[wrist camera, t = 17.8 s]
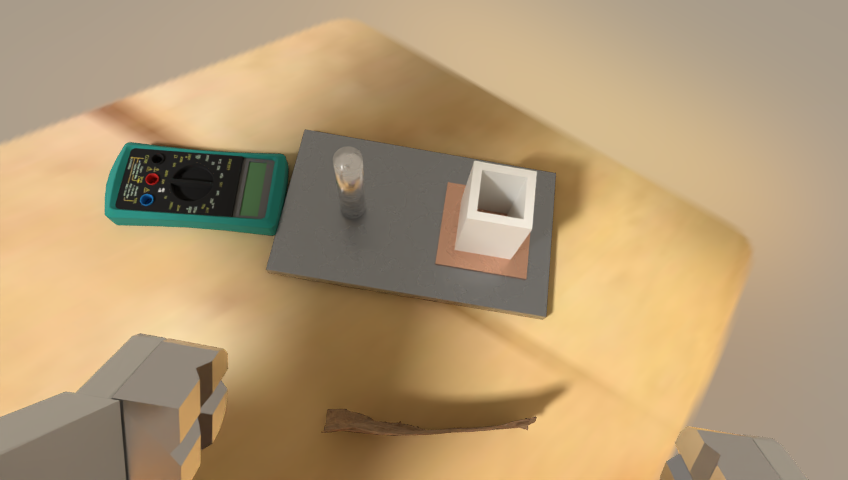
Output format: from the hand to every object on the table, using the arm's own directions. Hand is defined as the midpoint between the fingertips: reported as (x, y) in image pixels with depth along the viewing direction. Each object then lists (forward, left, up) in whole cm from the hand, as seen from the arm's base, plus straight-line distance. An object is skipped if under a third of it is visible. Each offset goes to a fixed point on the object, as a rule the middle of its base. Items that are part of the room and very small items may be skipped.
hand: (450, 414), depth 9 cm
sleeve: (+5, +18, -33) cm, 38 cm away
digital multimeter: (-21, +18, -35) cm, 44 cm away
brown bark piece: (+2, +1, -35) cm, 35 cm away
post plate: (-1, +18, -34) cm, 39 cm away
